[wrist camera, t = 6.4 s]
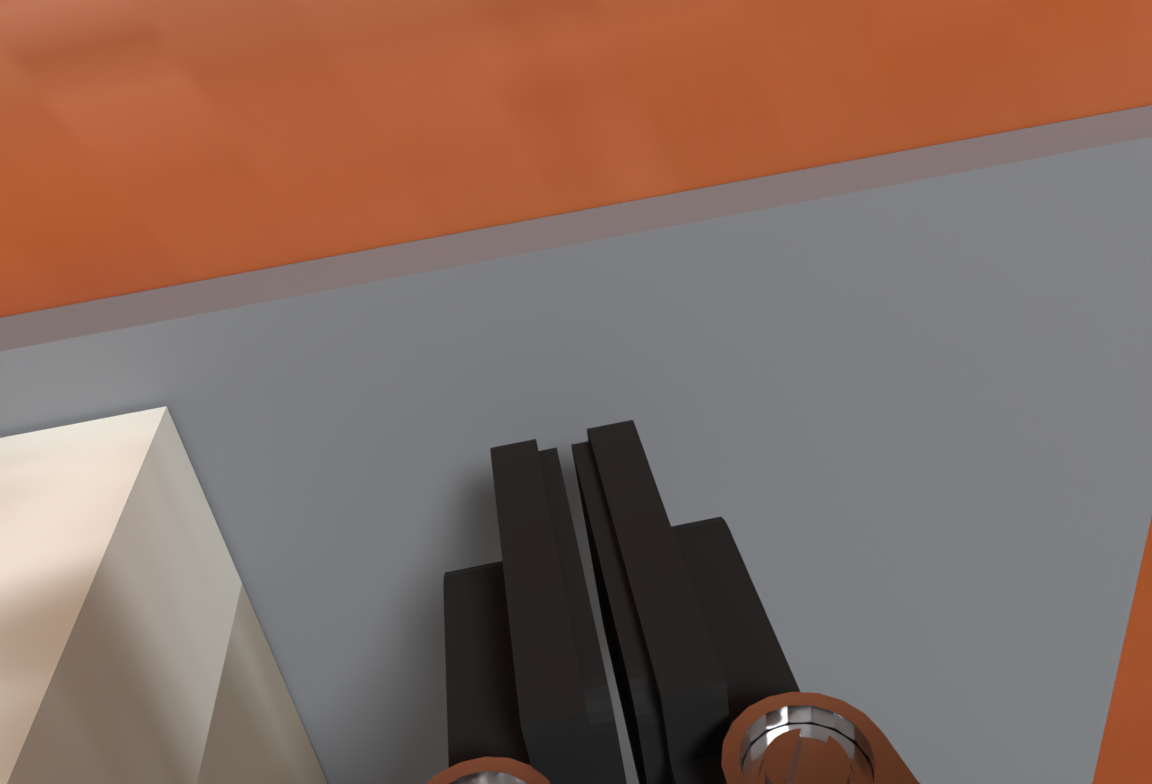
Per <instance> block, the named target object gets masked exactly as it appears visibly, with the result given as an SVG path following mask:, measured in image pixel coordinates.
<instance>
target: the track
mask: <svg viewBox="0 0 1152 784" xmlns="http://www.w3.org/2000/svg"><path fill="white" fill-rule="evenodd" d="M165 406H167V408H168V411H169V413H170V415H171V418H172V420H173V422H174V425H175V427H176V429H177V432H178V434H179V436H180V439H181V441H182V443H183V446H184V448H185V450H186V453H187V455H188V457H189V460H190V462H191V465H192V467H193V469H194V472H195V474H196V476H197V479H198V481H199V483H200V486H201V488H202V490H203V493H204V495H205V497H206V500H207V502H208V504H209V507H210V509H211V511H212V514H213V516H214V518H215V521H216V523H217V525H218V528H219V530H220V532H221V535H222V537H223V539H224V542H225V544H226V547H227V549H228V551H229V554H230V556H231V558H232V561H233V563H234V565H235V568H236V570H237V572H238V575H239V577H240V579H241V582H242V584H243V586H244V589H245V591H246V593H247V596H248V598H249V600H250V603H251V605H252V607H253V610H254V612H255V614H256V617H257V619H258V621H259V624H260V626H261V629H262V631H263V633H264V636H265V638H266V640H267V643H268V645H269V647H270V650H271V652H272V654H273V657H274V659H275V661H276V664H277V666H278V668H279V671H280V673H281V675H282V678H283V680H284V682H285V685H286V687H287V689H288V692H289V694H290V696H291V699H292V701H293V703H294V706H295V708H296V711H297V713H298V715H299V718H300V720H301V722H302V725H303V727H304V729H305V732H306V734H307V736H308V739H309V741H310V743H311V746H312V748H313V750H314V753H315V755H316V757H317V760H318V762H319V764H320V767H321V769H322V771H323V774H324V776H325V778H326V781H327V783H328V784H426V783H427V782H429V781H430V780H431V779H432V778H433V777H434V776H436V775H437V774H438V773H440V772H442V771H444V770H446V769H448V768H449V763H448V729H447V694H446V660H445V626H444V592H443V581H444V574H445V572H450V571H455V570H460V569H465V568H470V567H475V566H480V565H484V564H489V563H494V562H499V561H502V552H501V543H500V534H499V525H498V516H497V507H496V498H495V489H494V480H493V471H492V462H491V452H490V448H492V447H497V446H502V445H507V444H512V443H517V442H522V441H527V440H532V439H536V441H537V446H538V451H541V450H546V449H551V448H556V447H557V451H558V456H559V460H560V465H561V470H562V474H563V479H564V483H565V488H566V493H567V497H568V502H569V506H570V511H571V516H572V520H573V525H574V530H575V534H576V539H577V543H578V548H579V553H580V557H581V562H582V566H583V571H584V576H585V580H586V585H587V589H588V594H589V599H590V603H591V608H592V612H593V617H594V622H595V626H596V631H597V635H598V640H599V645H600V649H601V654H602V659H603V663H604V668H605V672H606V677H607V682H608V686H609V691H610V696H611V701H612V706H613V711H614V716H615V721H616V727H617V732H618V738H619V743H620V749H621V754H622V760H623V765H624V771H625V776H626V782H627V784H639V782H638V777H637V773H636V769H635V764H634V760H633V755H632V751H631V747H630V742H629V738H628V733H627V729H626V724H625V720H624V716H623V711H622V707H621V702H620V698H619V694H618V689H617V685H616V680H615V676H614V672H613V667H612V663H611V658H610V654H609V649H608V645H607V641H606V636H605V631H604V626H603V621H602V616H601V610H600V605H599V599H598V594H597V588H596V582H595V577H594V571H593V565H592V560H591V554H590V549H589V543H588V537H587V532H586V526H585V520H584V515H583V509H582V504H581V498H580V492H579V487H578V481H577V475H576V470H575V464H574V459H573V453H572V446H571V444H576V443H581V442H586V441H588V436H587V429H588V428H593V427H598V426H603V425H608V424H613V423H618V422H623V421H629V420H633V421H634V424H635V426H636V429H637V432H638V435H639V437H640V440H641V443H642V446H643V449H644V451H645V454H646V457H647V460H648V463H649V465H650V468H651V471H652V474H653V477H654V480H655V482H656V485H657V488H658V491H659V494H660V496H661V499H662V502H663V505H664V508H665V511H666V513H667V516H668V519H669V522H670V525H671V526H676V525H681V524H686V523H691V522H696V521H701V520H706V519H711V518H716V517H722V518H723V519H724V520H725V521H726V523H727V525H728V527H729V529H730V531H731V534H732V536H733V538H734V541H735V543H736V545H737V547H738V550H739V552H740V554H741V557H742V559H743V561H744V564H745V566H746V568H747V570H748V573H749V575H750V577H751V580H752V582H753V584H754V586H755V589H756V591H757V593H758V596H759V598H760V600H761V602H762V605H763V607H764V609H765V612H766V614H767V616H768V619H769V621H770V623H771V625H772V628H773V630H774V632H775V635H776V637H777V639H778V641H779V644H780V646H781V648H782V651H783V653H784V655H785V657H786V660H787V662H788V664H789V667H790V669H791V671H792V674H793V676H794V678H795V680H796V683H797V685H798V687H799V690H800V692H808V693H820V694H823V695H826V696H830V697H833V698H837V699H840V700H843V701H845V702H846V703H848V704H850V705H851V706H853V707H855V708H857V709H858V710H860V711H862V712H863V713H865V714H866V715H867V716H868V717H869V718H870V719H871V720H872V721H873V722H874V723H875V724H876V726H877V727H878V728H879V729H880V730H881V731H882V732H883V733H884V735H885V736H886V737H887V739H888V740H889V742H890V743H891V744H892V746H893V747H894V749H895V750H896V751H897V753H898V754H899V756H900V757H901V758H902V760H903V761H904V763H905V764H906V765H907V767H908V768H909V770H910V771H911V772H912V774H913V775H914V777H915V778H916V779H917V781H918V782H919V783H920V784H1092V783H1093V778H1094V774H1095V769H1096V765H1097V760H1098V755H1099V751H1100V746H1101V742H1102V737H1103V733H1104V728H1105V724H1106V719H1107V715H1108V710H1109V706H1110V701H1111V697H1112V692H1113V688H1114V683H1115V679H1116V674H1117V670H1118V665H1119V661H1120V656H1121V652H1122V647H1123V643H1124V638H1125V634H1126V629H1127V625H1128V620H1129V616H1130V611H1131V607H1132V602H1133V598H1134V593H1135V589H1136V584H1137V580H1138V575H1139V571H1140V566H1141V562H1142V557H1143V553H1144V548H1145V544H1146V539H1147V534H1148V530H1149V525H1150V521H1151V516H1152V105H1150V106H1144V107H1139V108H1134V109H1128V110H1123V111H1117V112H1112V113H1107V114H1101V115H1096V116H1090V117H1085V118H1079V119H1074V120H1069V121H1063V122H1058V123H1052V124H1047V125H1042V126H1036V127H1031V128H1025V129H1020V130H1014V131H1009V132H1004V133H998V134H993V135H987V136H982V137H977V138H971V139H966V140H960V141H955V142H949V143H944V144H939V145H933V146H928V147H922V148H917V149H912V150H906V151H901V152H895V153H890V154H885V155H879V156H874V157H868V158H863V159H857V160H852V161H847V162H841V163H836V164H830V165H825V166H820V167H814V168H809V169H803V170H798V171H792V172H787V173H782V174H776V175H771V176H765V177H760V178H755V179H749V180H744V181H738V182H733V183H727V184H722V185H717V186H711V187H706V188H700V189H695V190H690V191H684V192H679V193H673V194H668V195H663V196H657V197H652V198H646V199H641V200H635V201H630V202H625V203H619V204H614V205H608V206H603V207H598V208H592V209H587V210H581V211H576V212H570V213H565V214H560V215H554V216H549V217H543V218H538V219H533V220H527V221H522V222H516V223H511V224H505V225H500V226H495V227H489V228H484V229H478V230H473V231H468V232H462V233H457V234H451V235H446V236H441V237H435V238H430V239H424V240H419V241H413V242H408V243H403V244H397V245H392V246H386V247H381V248H376V249H370V250H365V251H359V252H354V253H348V254H343V255H338V256H332V257H327V258H321V259H316V260H311V261H305V262H300V263H294V264H289V265H283V266H278V267H273V268H267V269H262V270H256V271H251V272H246V273H240V274H235V275H229V276H224V277H219V278H213V279H208V280H202V281H197V282H191V283H186V284H181V285H175V286H170V287H164V288H159V289H154V290H148V291H143V292H137V293H132V294H126V295H121V296H116V297H110V298H105V299H99V300H94V301H89V302H83V303H78V304H72V305H67V306H61V307H56V308H51V309H45V310H40V311H34V312H29V313H24V314H18V315H13V316H7V317H2V318H0V438H3V437H8V436H13V435H18V434H24V433H29V432H34V431H39V430H45V429H50V428H55V427H60V426H66V425H71V424H76V423H81V422H87V421H92V420H97V419H102V418H108V417H113V416H118V415H123V414H128V413H134V412H139V411H144V410H149V409H155V408H160V407H165Z"/></svg>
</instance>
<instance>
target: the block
mask: <svg viewBox="0 0 1152 784" xmlns="http://www.w3.org/2000/svg"><path fill="white" fill-rule="evenodd" d="M0 784H328V783H327V781H326V778H325V776H324V774H323V771H322V769H321V767H320V764H319V762H318V760H317V757H316V755H315V753H314V750H313V748H312V746H311V743H310V741H309V739H308V736H307V734H306V732H305V729H304V727H303V725H302V722H301V720H300V718H299V715H298V713H297V711H296V708H295V706H294V703H293V701H292V699H291V696H290V694H289V692H288V689H287V687H286V685H285V682H284V680H283V678H282V675H281V673H280V671H279V668H278V666H277V664H276V661H275V659H274V657H273V654H272V652H271V650H270V647H269V645H268V643H267V640H266V638H265V636H264V633H263V631H262V629H261V626H260V624H259V621H258V619H257V617H256V614H255V612H254V610H253V607H252V605H251V603H250V600H249V598H248V596H247V593H246V591H245V589H244V586H243V584H242V582H241V579H240V577H239V575H238V572H237V570H236V568H235V565H234V563H233V561H232V558H231V556H230V554H229V551H228V549H227V547H226V544H225V542H224V539H223V537H222V535H221V532H220V530H219V528H218V525H217V523H216V521H215V518H214V516H213V514H212V511H211V509H210V507H209V504H208V502H207V500H206V497H205V495H204V493H203V490H202V488H201V486H200V483H199V481H198V479H197V476H196V474H195V472H194V469H193V467H192V465H191V462H190V460H189V457H188V455H187V453H186V450H185V448H184V446H183V443H182V441H181V439H180V436H179V434H178V432H177V429H176V427H175V425H174V422H173V420H172V418H171V415H170V413H169V411H168V408H167V406H165V407H160V408H155V409H149V410H144V411H139V412H134V413H128V414H123V415H118V416H113V417H108V418H102V419H97V420H92V421H87V422H81V423H76V424H71V425H66V426H60V427H55V428H50V429H45V430H39V431H34V432H29V433H24V434H18V435H13V436H8V437H3V438H0Z"/></svg>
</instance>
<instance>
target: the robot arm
mask: <svg viewBox="0 0 1152 784" xmlns="http://www.w3.org/2000/svg"><path fill="white" fill-rule="evenodd" d="M587 436H588V441H586V442H581V443H576V444H571V446H572V453H573V459H574V464H575V470H576V475H577V481H578V487H579V492H580V498H581V504H582V509H583V515H584V520H585V526H586V532H587V537H588V543H589V549H590V554H591V560H592V565H593V571H594V577H595V582H596V588H597V594H598V599H599V605H600V610H601V616H602V621H603V626H604V631H605V636H606V641H607V645H608V649H609V654H610V658H611V663H612V667H613V672H614V676H615V680H616V685H617V689H618V694H619V698H620V702H621V707H622V711H623V716H624V720H625V724H626V729H627V733H628V738H629V742H630V747H631V751H632V755H633V760H634V764H635V769H636V773H637V777H638V782H639V784H920V783H919V782H918V781H917V779H916V778H915V777H914V775H913V774H912V772H911V771H910V770H909V768H908V767H907V765H906V764H905V763H904V761H903V760H902V758H901V757H900V756H899V754H898V753H897V751H896V750H895V749H894V747H893V746H892V744H891V743H890V742H889V740H888V739H887V737H886V736H885V735H884V733H883V732H882V731H881V730H880V729H879V728H878V727H877V726H876V724H875V723H874V722H873V721H872V720H871V719H870V718H869V717H868V716H867V715H866V714H865V713H863V712H862V711H860V710H858V709H857V708H855V707H853V706H851V705H850V704H848V703H846V702H845V701H843V700H840V699H837V698H833V697H830V696H826V695H823V694H820V693H808V692H800V690H799V687H798V685H797V683H796V680H795V678H794V676H793V674H792V671H791V669H790V667H789V664H788V662H787V660H786V657H785V655H784V653H783V651H782V648H781V646H780V644H779V641H778V639H777V637H776V635H775V632H774V630H773V628H772V625H771V623H770V621H769V619H768V616H767V614H766V612H765V609H764V607H763V605H762V602H761V600H760V598H759V596H758V593H757V591H756V589H755V586H754V584H753V582H752V580H751V577H750V575H749V573H748V570H747V568H746V566H745V564H744V561H743V559H742V557H741V554H740V552H739V550H738V547H737V545H736V543H735V541H734V538H733V536H732V534H731V531H730V529H729V527H728V525H727V523H726V521H725V520H724V519H723V518H722V517H716V518H711V519H706V520H701V521H696V522H691V523H686V524H681V525H676V526H671V525H670V522H669V519H668V516H667V513H666V511H665V508H664V505H663V502H662V499H661V496H660V494H659V491H658V488H657V485H656V482H655V480H654V477H653V474H652V471H651V468H650V465H649V463H648V460H647V457H646V454H645V451H644V449H643V446H642V443H641V440H640V437H639V435H638V432H637V429H636V426H635V424H634V421H633V420H629V421H623V422H618V423H613V424H608V425H603V426H598V427H593V428H588V429H587ZM490 452H491V462H492V471H493V480H494V489H495V498H496V507H497V516H498V525H499V534H500V543H501V552H502V561H499V562H494V563H489V564H484V565H480V566H475V567H470V568H465V569H460V570H455V571H450V572H445V574H444V581H443V592H444V626H445V660H446V694H447V729H448V763H449V768H448V769H446V770H444V771H442V772H440V773H438V774H437V775H436V776H434V777H433V778H432V779H431V780H430V781H429V782H427V783H426V784H627V782H626V776H625V771H624V765H623V760H622V754H621V749H620V743H619V738H618V732H617V727H616V721H615V716H614V711H613V706H612V701H611V696H610V691H609V686H608V682H607V677H606V672H605V668H604V663H603V659H602V654H601V649H600V645H599V640H598V635H597V631H596V626H595V622H594V617H593V612H592V608H591V603H590V599H589V594H588V589H587V585H586V580H585V576H584V571H583V566H582V562H581V557H580V553H579V548H578V543H577V539H576V534H575V530H574V525H573V520H572V516H571V511H570V506H569V502H568V497H567V493H566V488H565V483H564V479H563V474H562V470H561V465H560V460H559V456H558V451H557V447H556V448H551V449H546V450H541V451H538V446H537V441H536V439H532V440H527V441H522V442H517V443H512V444H507V445H502V446H497V447H492V448H490Z"/></svg>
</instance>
